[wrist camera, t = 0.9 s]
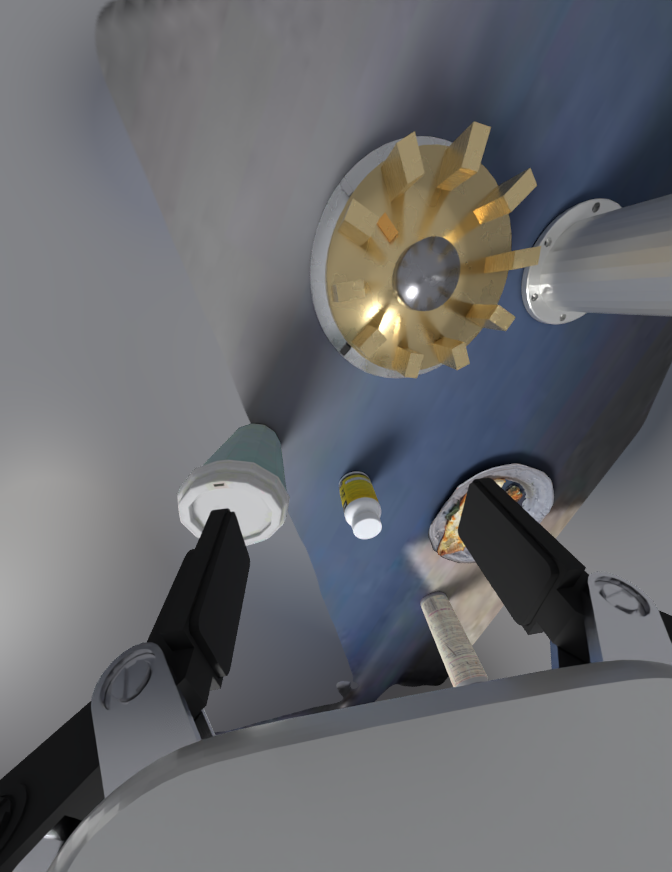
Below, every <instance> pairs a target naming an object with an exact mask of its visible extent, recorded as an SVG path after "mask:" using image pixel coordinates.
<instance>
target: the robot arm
mask: <svg viewBox="0 0 672 872" xmlns="http://www.w3.org/2000/svg"><path fill="white" fill-rule="evenodd" d="M538 246H541V251H540V256H539V262H538V265H534V266H529V267H525V269H524V272H523V278H522V298H523V303H524V305H525V308H526V310H527V312H528V313H529V314H530V315H531V316H532V317H533V318H534V319H536V320H537V321H539V322H542V323H546V324H563V323H567V322H571V321H573V320H575V319H577V318H579V317H581V316H583V315H584V314H586V313H610V314H632V315H655V316H672V194H669V195H666V196H662V197H659V198H655V199H652V200H648V201H645V202H641V203H638V204H634V205H630V206H627V207H623V208H622V207H621V206H620V205H619V204H618V203H616V202H614V201H612V200H610V199H604V198H598V199H591V200H588V201H585V202H582V203H579V204H577V205H575V206H573V207H571V208H569V209H567V210H566V211H564V212H563V213H562V214H560V215H559V216H558V217H556V218H555V219H554V220H553V221H552V222H551V223H550V224H549V225H548V226H547V228H546V229H545V230H544V231H543V233H542V234H541V235H540V237H539V238H538V240H537V241H536V243H535V245H534V247H538ZM458 535H459V537H460V539H461V541H462V542H463V544H464V545H465V547H466V548H467V550H468V551H469V553H470V554H471V556H472V557H473V559H474V560H475V562H476V563H477V565H478V566H479V568H480V569H481V571H482V572H483V574H484V575H485V577H486V578H487V580H488V581H489V583H490V584H491V586H492V587H493V589H494V590H495V592H496V593H497V595H498V596H499V598H500V599H501V601H502V602H503V604H504V605H505V607H506V608H507V610H508V611H509V613H510V614H511V616H512V617H513V619H514V620H515V621H516V623H517V624H519V625H522V626H523V628H524V629H525V631H526V632H527V634H528V635H531V634H536V633H542V632H545V633H546V635H547V636H548V637H549V639H550V645H551V665H552V669H551V670H546V671H540V672H535V673H529V674H524V675H518V676H513V677H508V678H502V679H497V680H491V681H485V682H480V683H474V684H469V685H464V686H458V687H453V688H448V689H442V690H438V691H432V692H427V693H421V694H416V695H411V696H405V697H400V698H395V699H390V700H384V701H379V702H374V703H368V704H363V705H358V706H353V707H348V708H343V709H338V710H332V711H327V712H322V713H317V714H312V715H307V716H302V717H296V718H291V719H287V720H282V721H277V722H273V723H268V724H263V725H259V726H254V727H250V728H245V729H240V730H236V731H232V732H228V733H224V734H221V735H217V736H215V734H214V732H213V729H212V727H211V725H210V722H209V720H208V718H207V716H206V713H205V711H204V709H203V708H204V707H205V706H206V704H207V700H208V696H209V691H210V690H216V689H221V685H222V680H223V676H227V675H228V673H229V671H230V667H231V662H232V657H233V651H234V645H235V641H236V636H237V630H238V625H239V620H240V614H241V609H242V603H243V599H244V593H245V588H246V582H247V578H248V572H249V567H250V558H249V555H248V551H247V548H246V545H245V542H244V539H243V536H242V532H241V529H240V526H239V523H238V520H237V517H236V514H235V512H231V511H230V509H229V508H225V509H217V510H212V511H211V512H210V515H209V517H208V519H207V522H206V524H205V526H204V529H203V531H202V534H201V536H200V538H199V541H198V543H197V545H196V548H195V549H192V550H190V551H189V552H188V553H187V554H186V556H185V558H184V560H183V562H182V565H181V567H180V569H179V571H178V574H177V576H176V578H175V580H174V582H173V585H172V587H171V589H170V591H169V594H168V596H167V598H166V600H165V603H164V605H163V607H162V609H161V612H160V614H159V616H158V618H157V621H156V623H155V625H154V627H153V629H152V632H151V634H150V636H149V638H148V641H147V642H145V643H140V644H138V645H135V646H132V647H131V648H129V649H128V650H126V651H124V652H123V653H122V654H121V655H119V656H118V657H117V658H116V659H115V660H114V661H113V662H112V663H111V664H110V665H109V666H108V668H107V669H106V670H105V671H104V672H103V674H102V675H101V677H100V679H99V681H98V682H97V684H96V686H95V689H94V692H93V695H92V699H91V702H89V703H88V704H87V705H86V706H85V707H84V708H82V709H81V710H80V711H79V712H78V713H77V714H75V715H74V716H73V717H72V718H71V719H70V720H69V721H67V722H66V723H65V724H64V725H63V726H62V727H60V728H59V729H58V730H57V731H56V732H55V733H54V734H52V735H51V736H50V737H49V738H48V739H47V740H46V741H44V742H43V743H42V744H41V745H40V746H39V747H38V748H37V749H35V750H34V751H33V752H32V753H31V754H30V755H28V756H27V757H26V758H25V759H24V760H23V761H21V762H20V763H19V764H18V765H17V766H16V767H15V768H14V769H12V770H11V771H10V772H9V773H8V774H7V775H6V776H4V777H3V778H2V779H1V780H0V872H672V616H670V615H668V614H666V613H664V612H661V611H659V610H658V608H657V607H656V605H655V603H654V602H653V601H652V599H651V598H650V597H649V596H648V595H647V594H646V593H645V592H644V591H642V590H641V589H639V587H637V586H635V585H634V584H633V583H631V582H629V581H628V580H626V579H624V578H622V577H619V576H617V575H614V574H611V573H608V572H598V571H597V572H594V573H591V574H590V575H589V574H587V573H586V572H585V571H584V570H585V568H586V567H585V566H584V565H583V564H582V563H580V562H579V561H578V560H577V559H576V558H575V557H574V556H573V555H572V554H571V553H570V552H569V551H568V550H567V549H566V548H564V547H563V546H562V545H561V544H560V543H559V542H558V541H557V540H556V539H555V538H554V537H553V536H552V535H551V534H550V533H549V532H548V531H547V530H546V529H545V528H543V527H542V526H541V525H540V524H539V523H538V522H537V521H536V520H535V519H534V518H533V517H532V516H531V515H530V514H529V513H528V512H527V511H525V510H524V509H523V508H522V507H521V506H520V505H519V504H518V503H517V502H516V501H515V500H514V499H513V498H512V497H511V496H510V495H509V494H508V493H506V492H505V491H504V490H503V489H502V488H501V487H500V486H499V485H498V484H497V483H496V482H495V481H494V480H493V479H491V478H480V479H474V480H473V481H472V483H470V484H469V487H468V491H467V495H466V499H465V503H464V506H463V510H462V514H461V518H460V522H459V526H458Z"/></svg>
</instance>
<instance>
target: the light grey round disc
mask: <svg viewBox="0 0 672 872" xmlns="http://www.w3.org/2000/svg"><path fill="white" fill-rule="evenodd" d="M416 138H417V143H418V146H421V145H435V144H438V145H444V146H450V145H451V144H452V142H450V141H447V140H444V139H440V138H436V137H429V136H416ZM402 139H403V138H401V139H398V140H395V141H393V142H390V143H387V144H385V145H383V146H381V147H379V148H377V149H376V150H374V151H372V152H371V153H369V154H368V155H367V156H365V157H364V158H363V159H362V160H360V161H359V162H358V163H357V164H356V165H355V166H354V167H353V168H352V169H351V170H350V171H349V172H348V173H347V174H346V175H345V176H344V178H343V179H342V181H341V182H340V183H339V185H338V186H337V187H336V189H335V190H334V192H333V194H332V195H331V197H330V199H329V201H328V203H327V205H326V206H325V209H324V211H323V214H322V216H321V219H320V221H319V224H318V227H317V231H316V235H315V238H314V242H313V246H312V253H311V259H310V288H311V295H312V301H313V305H314V309H315V312H316V315H317V318H318V320H319V323H320V325H321V327H322V329H323V331H324V333H325V334H326V336H327V338H328V339H329V341H330V342H331V343H332V345H333V346H334V347H335V348H336V350H337V351H338V352H339V353H340V354H341V355H342V356H343V357H344V358H345V359H346V360H347V361H349V362H350V363H352V364H353V365H354V366H356V367H358V368H359V369H361V370H363V371H365V372H368V373H370V374H373V375H376V376H381V377H386V378H407V377H404V376H403V375H401V374H400V373H399V372H397V371H395V370H389V369H386V368H383V367H380V366H378V365H376V364H373V363H371V362H370V361H368V360H367V359H365V358H364V357H362V356H361V355H360V354H359V353H358V352H357V351H356V350H354V349H353V348H352V347H351V346H350V345H349V344H348V342H347V341H346V340H345V339H344V338H343V336H342V335H341V333H340V331H339V330H338V328H337V326H336V324H335V322H334V320H333V317H332V314H331V311H330V308H329V305H328V300H327V295H326V285H325V265H326V258H327V251H328V247H329V243H330V239H331V235H332V233H333V230H334V228H335V225H336V222H337V220H338V218H339V216H340V214H341V212H342V211H343V209H344V207H345V205H346V203H347V201H348V199H349V198H350V196H351V195H352V193H353V192H354V190H355V189H356V188H357V186H358V185H359V184H360V183H361V181H362V180H363V179H364V178H365V177H366V176H367V175H368V174H369V173H370V172H371V171H372V170H373V169H374V168H376V167H377V166H378V165H379V164H380V163H381V162H383V161H385V160H386V159H387V157H388V156H389V154H390V153H391V151H392V149H393V148H394V146H395V145H396V143H397V142H399V141H400V140H402ZM441 365H443V364H442V363H440V364H438V365H436V366H433V367H430V368H427V369H423V370H419V373H418V375H420V374H423V373H426V372H429V371H431V370H433V369H435V368H437V367H439V366H441Z"/></svg>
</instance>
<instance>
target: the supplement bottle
mask: <svg viewBox="0 0 672 872" xmlns="http://www.w3.org/2000/svg"><path fill="white" fill-rule="evenodd" d="M339 491H340V496H341V500H342V505H343V510H344V515H345V518H346V521H347V522H348V523H349V524H350V525H351V526H352V529H353V533H354V535H355V536H356V537H358V538H360V539H369V538H372V537H374V536H376V535H377V534H379V532H380V531H381V529H382V524H381V521H380V516H381V507H380V504H379V502H378V499H377V497H376V494H375V491H374V489H373V486H372V484H371V481H370V479H369V477H368V476H367V475H366V474H365V473H363V472H359V471H354V472H350V473H348V474H346V475H345V476H343V477H342V479H341V480H340V482H339Z"/></svg>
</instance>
